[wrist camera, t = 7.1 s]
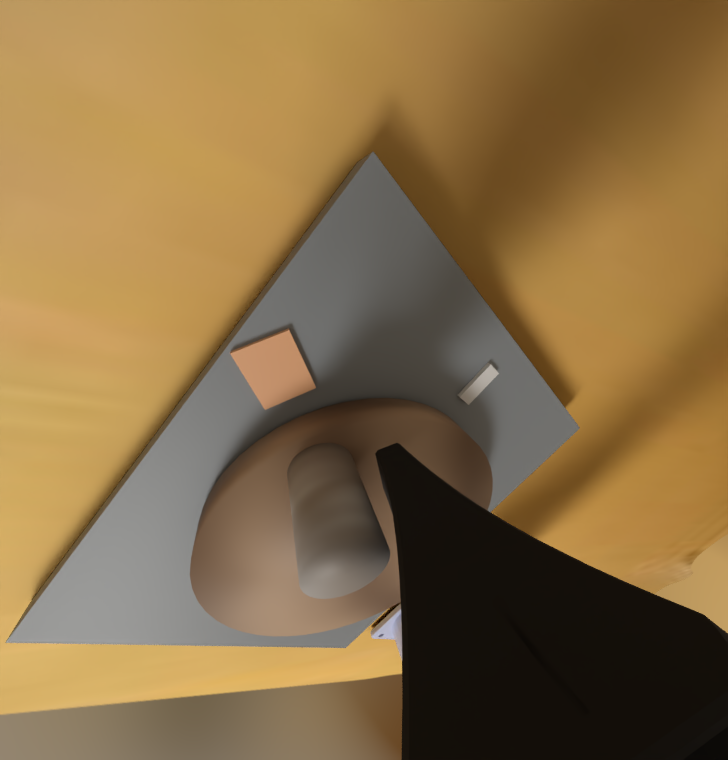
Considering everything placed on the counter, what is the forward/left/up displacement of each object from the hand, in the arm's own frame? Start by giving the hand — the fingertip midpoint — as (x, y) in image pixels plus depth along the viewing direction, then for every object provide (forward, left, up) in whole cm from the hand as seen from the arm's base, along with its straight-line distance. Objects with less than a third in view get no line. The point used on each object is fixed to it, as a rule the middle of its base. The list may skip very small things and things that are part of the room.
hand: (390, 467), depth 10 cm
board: (-3, +5, -4) cm, 7 cm away
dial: (-3, +5, -3) cm, 6 cm away
